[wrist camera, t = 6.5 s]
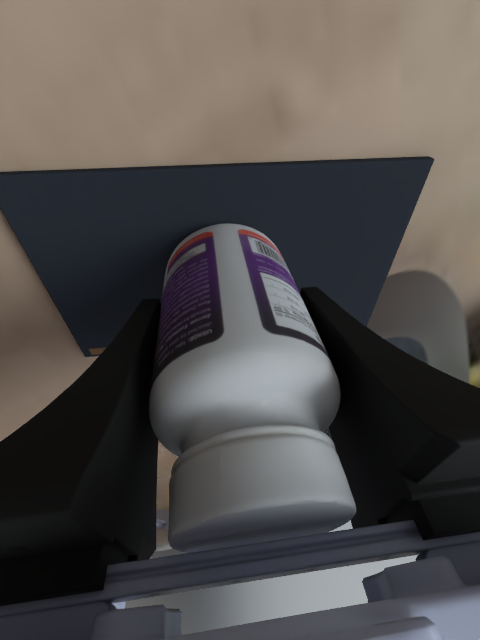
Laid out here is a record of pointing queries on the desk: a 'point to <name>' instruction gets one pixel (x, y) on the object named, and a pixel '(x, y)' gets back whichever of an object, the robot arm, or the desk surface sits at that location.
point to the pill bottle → (243, 398)
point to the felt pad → (202, 211)
